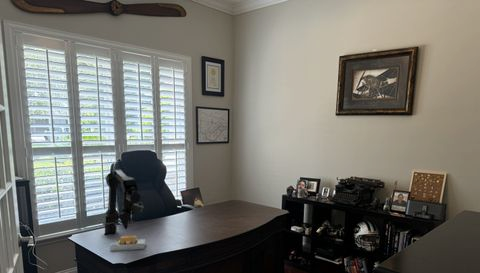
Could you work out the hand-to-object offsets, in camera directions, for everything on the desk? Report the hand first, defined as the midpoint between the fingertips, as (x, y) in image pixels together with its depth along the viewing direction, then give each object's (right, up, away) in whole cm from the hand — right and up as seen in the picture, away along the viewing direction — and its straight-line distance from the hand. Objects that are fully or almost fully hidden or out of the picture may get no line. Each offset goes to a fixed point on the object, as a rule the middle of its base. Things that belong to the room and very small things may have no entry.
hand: (127, 226), depth 163 cm
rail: (+1, -12, -2) cm, 12 cm away
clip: (+1, -12, -2) cm, 12 cm away
